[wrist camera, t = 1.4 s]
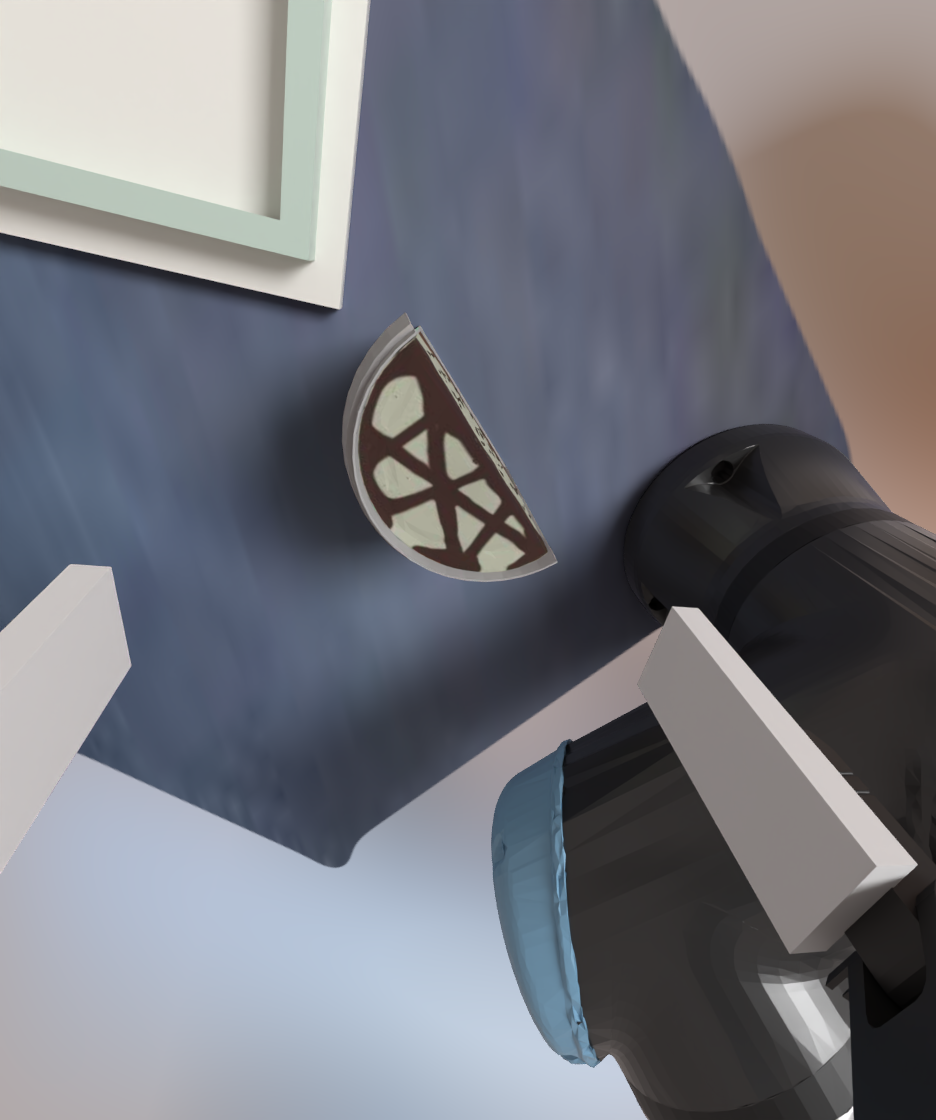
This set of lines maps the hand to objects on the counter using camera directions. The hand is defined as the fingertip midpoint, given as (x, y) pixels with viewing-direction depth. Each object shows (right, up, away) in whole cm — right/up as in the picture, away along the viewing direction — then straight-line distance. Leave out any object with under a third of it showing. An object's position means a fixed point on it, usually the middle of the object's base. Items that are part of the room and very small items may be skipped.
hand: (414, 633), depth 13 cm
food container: (-1, +9, +17) cm, 19 cm away
